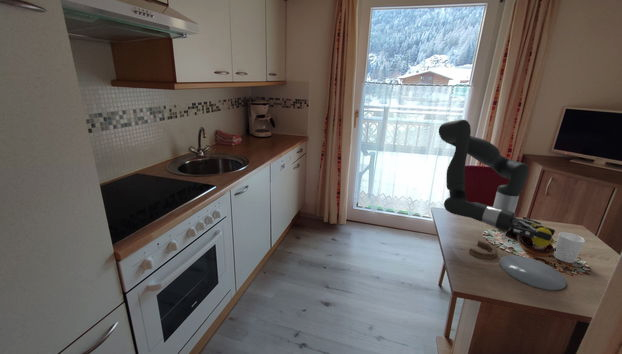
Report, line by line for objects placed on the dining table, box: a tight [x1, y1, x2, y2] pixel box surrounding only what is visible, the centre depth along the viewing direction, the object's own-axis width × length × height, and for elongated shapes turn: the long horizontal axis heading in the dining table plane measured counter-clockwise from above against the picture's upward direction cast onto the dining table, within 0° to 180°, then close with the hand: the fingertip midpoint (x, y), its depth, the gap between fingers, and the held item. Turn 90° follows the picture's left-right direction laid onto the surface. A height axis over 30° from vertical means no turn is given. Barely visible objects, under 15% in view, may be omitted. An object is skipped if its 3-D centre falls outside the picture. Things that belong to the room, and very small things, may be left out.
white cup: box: [553, 231, 586, 264], centre depth 115 cm, size 8×8×10 cm
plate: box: [499, 254, 567, 291], centre depth 106 cm, size 20×20×1 cm
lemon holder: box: [468, 239, 498, 260], centre depth 118 cm, size 11×8×2 cm
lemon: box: [531, 226, 553, 248], centre depth 102 cm, size 6×6×8 cm
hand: (552, 235), depth 99 cm, fingers closed on lemon, 5 cm apart
